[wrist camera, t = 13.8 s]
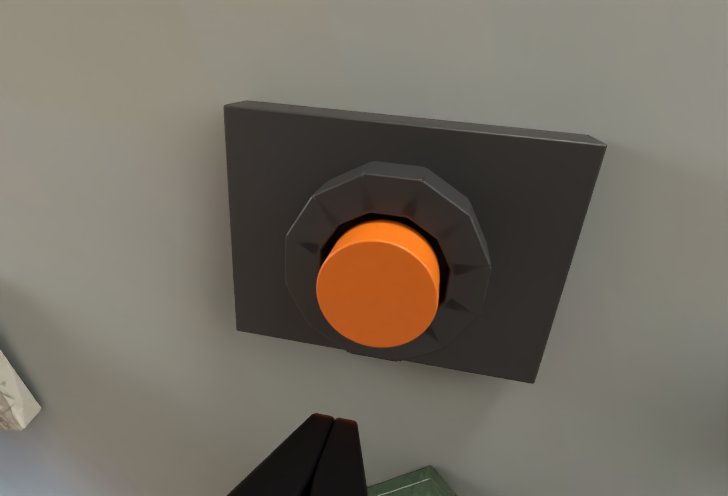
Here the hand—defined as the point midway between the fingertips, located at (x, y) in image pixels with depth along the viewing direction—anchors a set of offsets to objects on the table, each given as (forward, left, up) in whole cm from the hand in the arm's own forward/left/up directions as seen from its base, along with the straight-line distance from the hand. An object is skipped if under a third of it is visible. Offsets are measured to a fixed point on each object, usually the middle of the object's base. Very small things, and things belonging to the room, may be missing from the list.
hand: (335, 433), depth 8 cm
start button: (0, 0, -7) cm, 7 cm away
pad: (0, 0, -10) cm, 10 cm away
